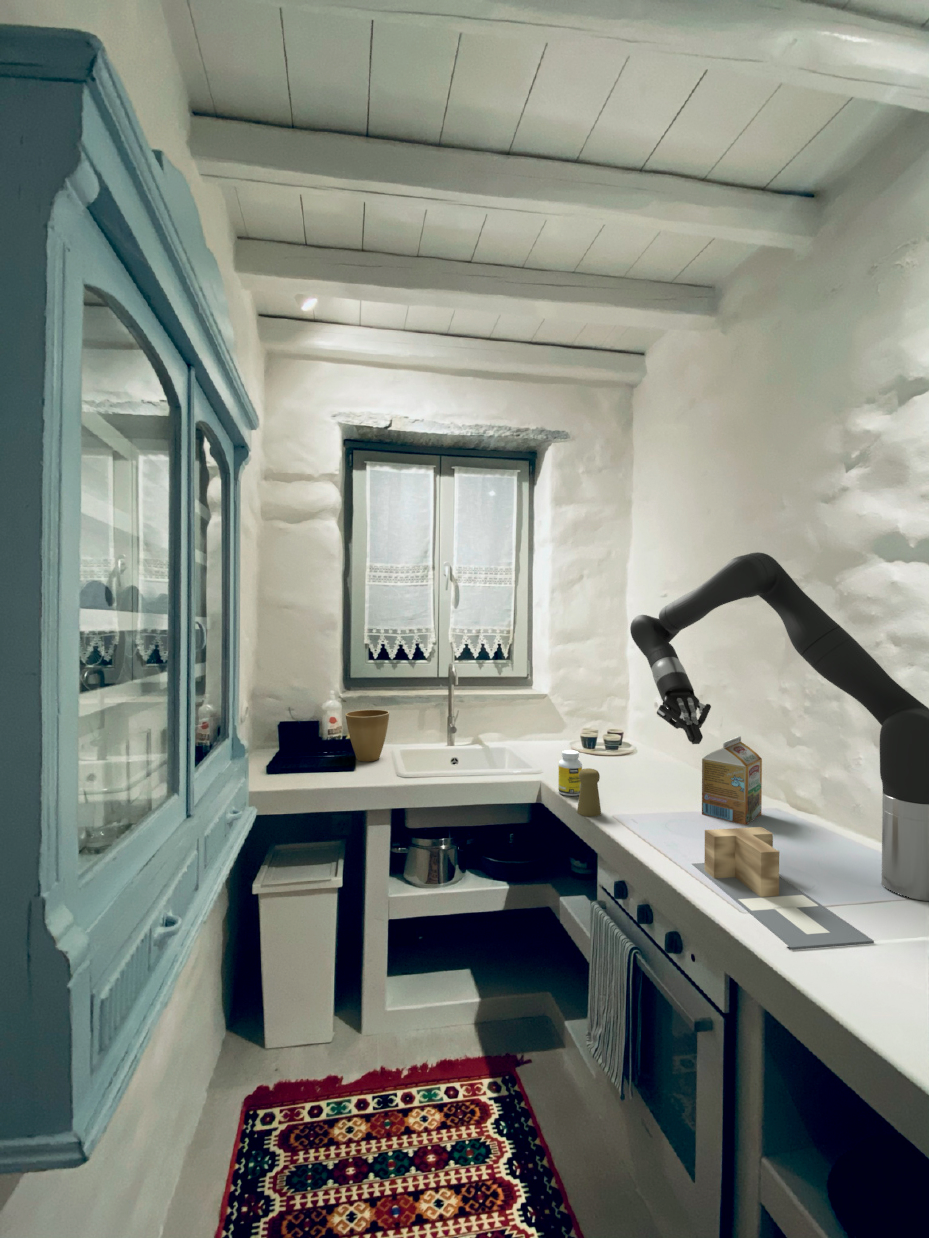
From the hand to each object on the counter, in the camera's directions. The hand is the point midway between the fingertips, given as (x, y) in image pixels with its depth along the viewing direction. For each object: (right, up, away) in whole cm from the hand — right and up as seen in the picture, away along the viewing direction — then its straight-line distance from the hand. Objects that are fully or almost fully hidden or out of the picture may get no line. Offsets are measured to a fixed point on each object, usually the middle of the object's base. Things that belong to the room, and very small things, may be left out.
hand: (697, 742), depth 133 cm
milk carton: (+16, -22, +18) cm, 33 cm away
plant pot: (-85, -21, +74) cm, 114 cm away
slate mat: (+3, -23, -26) cm, 34 cm away
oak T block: (+2, -22, -20) cm, 30 cm away
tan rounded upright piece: (-20, -22, +20) cm, 36 cm away
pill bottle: (-22, -22, +36) cm, 47 cm away
